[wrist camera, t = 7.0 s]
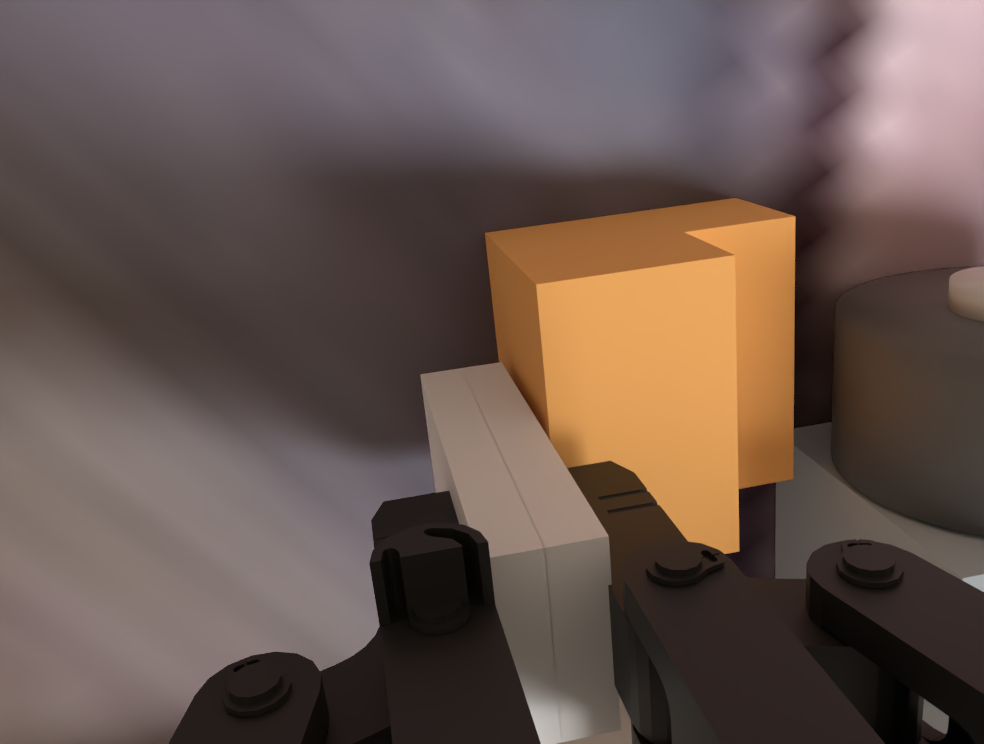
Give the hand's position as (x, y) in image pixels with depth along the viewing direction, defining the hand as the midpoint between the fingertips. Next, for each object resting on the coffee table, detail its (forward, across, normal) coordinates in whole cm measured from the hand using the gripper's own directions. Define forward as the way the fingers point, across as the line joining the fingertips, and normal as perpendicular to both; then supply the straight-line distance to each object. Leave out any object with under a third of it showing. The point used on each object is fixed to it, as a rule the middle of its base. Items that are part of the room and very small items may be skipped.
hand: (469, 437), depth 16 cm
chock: (+2, +3, +1) cm, 4 cm away
